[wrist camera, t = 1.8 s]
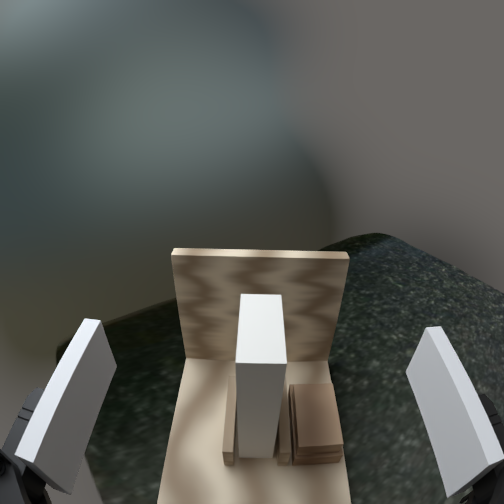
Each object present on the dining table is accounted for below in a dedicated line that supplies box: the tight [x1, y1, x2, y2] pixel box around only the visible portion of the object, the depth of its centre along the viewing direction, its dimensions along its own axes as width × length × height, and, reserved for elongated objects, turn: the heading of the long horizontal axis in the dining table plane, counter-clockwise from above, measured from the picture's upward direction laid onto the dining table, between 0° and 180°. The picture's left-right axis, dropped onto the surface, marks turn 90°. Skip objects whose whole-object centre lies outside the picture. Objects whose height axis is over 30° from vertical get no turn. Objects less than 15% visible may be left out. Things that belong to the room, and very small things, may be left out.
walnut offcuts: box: [288, 383, 343, 466], centre depth 32 cm, size 5×10×4 cm, turn 179°
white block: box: [235, 294, 287, 458], centre depth 29 cm, size 4×8×16 cm, turn 179°
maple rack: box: [157, 248, 351, 504], centre depth 29 cm, size 19×24×18 cm
